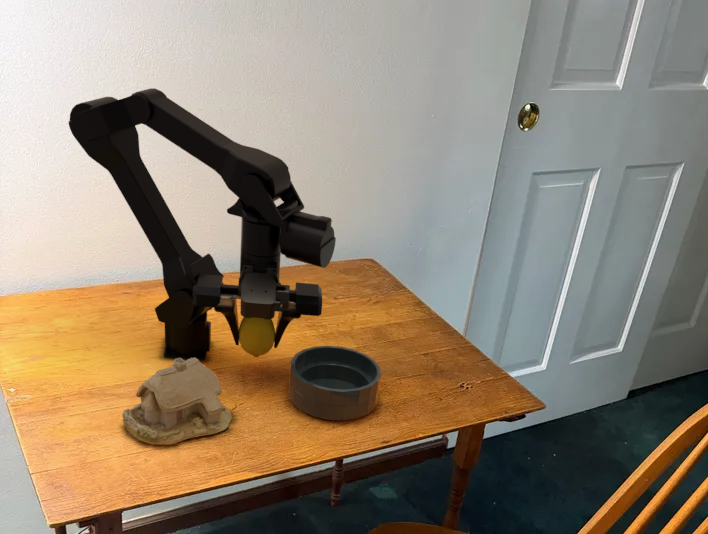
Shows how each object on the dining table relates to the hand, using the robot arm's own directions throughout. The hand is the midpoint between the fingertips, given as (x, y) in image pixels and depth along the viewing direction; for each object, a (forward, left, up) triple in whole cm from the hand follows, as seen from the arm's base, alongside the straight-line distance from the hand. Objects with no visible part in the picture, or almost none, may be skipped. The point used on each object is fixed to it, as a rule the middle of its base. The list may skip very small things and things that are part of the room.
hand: (256, 345), depth 122 cm
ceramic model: (-10, -16, -5) cm, 19 cm away
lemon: (0, 0, -2) cm, 2 cm away
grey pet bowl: (+12, -7, -4) cm, 15 cm away
